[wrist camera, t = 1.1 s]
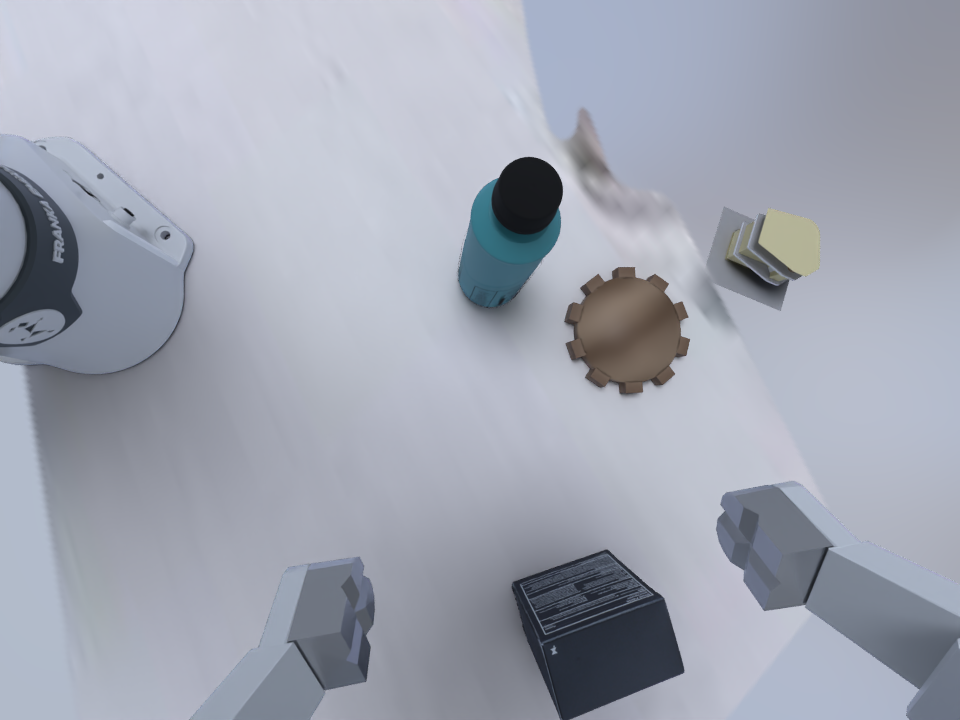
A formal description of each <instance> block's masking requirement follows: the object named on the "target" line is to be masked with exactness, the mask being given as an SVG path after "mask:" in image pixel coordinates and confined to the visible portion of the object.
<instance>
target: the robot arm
mask: <svg viewBox="0 0 960 720" xmlns="http://www.w3.org/2000/svg"><path fill="white" fill-rule="evenodd" d="M167 234H170V238H169V239H167V240H165V236H166V235H167ZM192 252H193V242H192V240H191V238H190V237H189V236H188V235H187V234H185V233H184V232H183V231H182V230H181V229H180V228H178V227H177V226H176V225H175V224H174V223H173V222H172V221H170V220H169V219H168V218H167V217H166V216H165V215H163V214H162V213H161V212H160V211H159V210H158V209H156V208H155V207H154V206H153V205H152V204H151V203H150V202H148V201H147V200H146V199H145V198H144V197H143V196H141V195H140V194H139V193H138V192H137V191H136V190H135V189H133V188H132V187H131V186H130V185H129V184H128V183H126V182H125V181H124V180H123V179H122V178H121V177H120V176H118V175H117V174H116V173H115V172H114V171H113V170H111V169H110V168H109V167H108V166H107V165H106V164H105V163H103V162H102V161H101V160H100V159H99V158H98V157H96V156H95V155H94V154H93V153H92V152H91V151H89V150H88V149H87V148H86V147H85V146H83V145H82V144H80V143H79V142H77V141H75V140H74V139H72V138H69V137H52V138H44V139H39V140H35V141H29V140H27V139H25V138H23V137H21V136H16V135H8V134H1V135H0V361H1V362H4V363H10V364H15V365H34V364H47V365H51V366H54V367H58V368H61V369H64V370H68V371H72V372H76V373H83V374H105V373H112V372H116V371H120V370H123V369H126V368H129V367H131V366H134V365H136V364H138V363H140V362H142V361H143V360H145V359H146V358H148V357H149V356H151V355H152V354H153V353H154V352H156V351H157V350H158V349H159V348H160V347H161V346H162V345H163V344H164V343H165V342H166V340H167V339H168V338H169V336H170V335H171V333H172V332H173V330H174V328H175V327H176V325H177V322H178V320H179V317H180V314H181V311H182V306H183V300H184V271H185V269H186V267H187V265H188V263H189V260H190V258H191V255H192ZM720 505H721V506H722V508H723V509H724V510H725V512H724V513H723V514H722V515H721V516H720V517H719V518H718V519H717V527H716V531H717V535H718V540H719V543H720V545H721V547H722V549H723V551H724V553H725V554H726V556H727V557H728V559H729V561H730V562H731V563H733V564H735V565H736V566H738V567H739V568H741V569H743V570H744V579H743V581H744V583H745V584H746V585H747V587H748V588H749V590H750V591H751V593H752V594H753V596H754V597H755V599H756V600H757V601H758V603H759V604H760V606H761V607H762V609H763V610H764V611H767V610H774V609H781V608H788V607H795V606H801V605H806V606H805V608H806V609H808V610H809V611H811V612H812V613H813V614H815V615H816V616H818V617H819V618H820V619H822V620H823V621H825V622H826V623H827V624H829V625H830V626H832V627H833V628H834V629H836V630H837V631H839V632H840V633H841V634H843V635H844V636H846V637H847V638H849V639H850V640H851V641H853V642H854V643H856V644H857V645H858V646H860V647H861V648H862V649H864V650H865V651H866V652H868V653H870V654H871V655H872V656H873V657H875V658H876V659H878V660H879V661H880V662H882V663H883V664H885V665H886V666H887V667H889V668H890V669H892V670H893V671H894V672H896V673H897V674H899V675H900V676H902V677H903V678H904V679H906V680H907V681H909V682H910V683H911V684H913V685H914V686H915V687H917V688H918V689H920V690H919V691H918V692H917V694H916V695H915V697H914V698H913V699H912V701H911V702H910V704H909V705H908V706H907V713H906V716H907V717H908V718H909V720H960V584H959V583H957V582H955V581H953V580H950V579H948V578H946V577H944V576H942V575H940V574H938V573H935V572H933V571H931V570H929V569H927V568H925V567H923V566H921V565H918V564H916V563H914V562H912V561H910V560H908V559H906V558H904V557H901V556H899V555H897V554H895V553H893V552H891V551H889V550H886V549H884V548H882V547H880V546H878V545H876V544H874V543H872V542H869V541H867V542H861V541H860V540H859V539H858V538H857V537H856V536H855V535H854V534H852V533H851V532H850V531H849V530H848V529H847V528H846V527H845V526H844V525H843V524H842V523H841V522H840V521H839V520H838V519H837V518H836V517H835V516H834V515H833V514H832V513H831V512H830V511H829V510H828V509H827V508H826V507H824V506H823V505H822V504H821V503H820V502H819V501H818V500H817V499H816V498H815V497H814V496H813V495H812V494H811V493H810V492H809V491H808V490H807V489H806V488H805V487H804V486H803V485H801V484H800V483H798V482H796V481H790V482H784V483H779V484H773V485H764V486H759V487H753V488H748V489H743V490H737V491H732V492H727V493H725V494H724V495H723V496H722V500H721V504H720ZM363 570H364V565H363V563H362V561H361V558H360V557H354V558H347V559H340V560H333V561H326V562H319V563H312V564H306V565H299V566H293V567H288V569H287V570H286V571H285V573H284V574H283V576H282V579H281V582H280V585H279V588H278V591H277V594H276V597H275V600H274V603H273V605H272V608H271V611H270V614H269V617H268V620H267V623H266V626H265V629H264V632H263V635H262V638H261V641H260V644H259V647H258V648H255V649H251V650H250V651H249V652H248V653H247V654H246V656H245V657H244V658H243V659H242V660H241V661H240V662H239V663H238V665H237V666H236V667H235V668H234V669H233V670H232V671H231V673H230V674H229V675H228V676H227V677H226V678H225V679H224V681H223V682H222V683H221V684H220V685H219V686H218V687H217V689H216V690H215V691H214V692H213V693H212V694H211V695H210V697H209V698H208V699H207V700H206V701H205V702H204V703H203V705H202V706H201V707H200V708H199V709H198V710H197V711H196V713H195V714H194V715H193V716H192V717H191V718H190V719H189V720H310V718H311V716H312V715H313V713H314V711H315V710H316V708H317V706H318V705H319V703H320V701H321V700H322V698H323V696H324V694H325V691H324V690H329V689H333V688H338V687H343V686H348V685H353V684H357V683H362V682H366V679H367V671H368V663H369V655H370V647H371V646H370V644H369V642H368V640H367V638H366V634H367V633H368V631H369V630H370V628H371V627H372V626H373V622H374V612H375V605H374V592H373V587H372V584H371V582H370V579H369V578H367V577H365V576H363Z"/></svg>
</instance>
